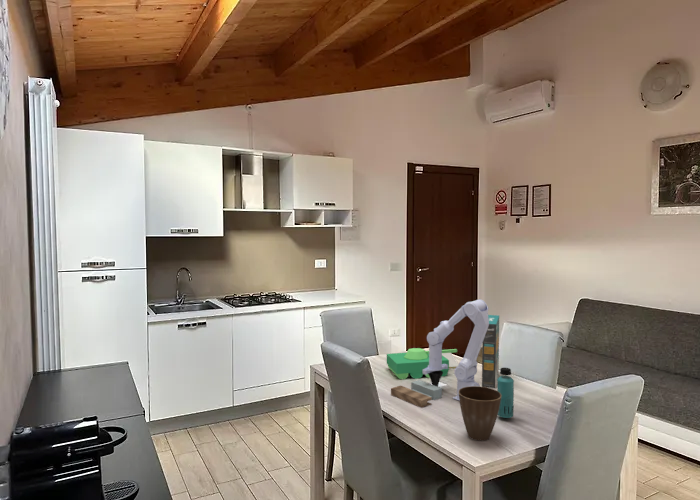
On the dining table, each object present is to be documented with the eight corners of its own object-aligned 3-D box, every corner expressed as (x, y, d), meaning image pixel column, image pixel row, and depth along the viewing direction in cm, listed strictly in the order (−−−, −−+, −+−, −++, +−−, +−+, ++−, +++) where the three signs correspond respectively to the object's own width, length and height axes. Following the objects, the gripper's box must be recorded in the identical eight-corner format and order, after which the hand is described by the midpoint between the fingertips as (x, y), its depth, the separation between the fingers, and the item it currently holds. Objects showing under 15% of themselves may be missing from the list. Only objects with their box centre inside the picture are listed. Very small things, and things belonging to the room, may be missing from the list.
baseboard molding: (437, 369, 260) (460, 369, 260) (437, 364, 260) (460, 364, 259) (429, 353, 291) (449, 353, 291) (429, 348, 291) (449, 348, 290)
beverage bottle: (502, 422, 190) (503, 371, 189) (493, 416, 197) (493, 366, 195) (517, 420, 192) (518, 370, 191) (507, 414, 198) (508, 365, 197)
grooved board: (431, 404, 209) (431, 397, 209) (421, 407, 206) (421, 400, 206) (400, 391, 224) (400, 385, 224) (390, 394, 221) (390, 388, 221)
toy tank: (463, 351, 247) (396, 356, 240) (463, 375, 248) (396, 380, 241) (449, 343, 265) (386, 346, 257) (449, 365, 265) (386, 369, 258)
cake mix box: (486, 373, 251) (486, 314, 250) (498, 374, 249) (499, 315, 247) (481, 386, 231) (482, 323, 229) (495, 388, 229) (496, 324, 227)
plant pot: (480, 424, 189) (480, 383, 188) (509, 439, 176) (510, 395, 174) (449, 432, 182) (449, 390, 181) (478, 449, 168) (478, 403, 167)
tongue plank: (441, 398, 217) (441, 388, 217) (431, 401, 213) (431, 391, 213) (419, 389, 228) (419, 380, 228) (408, 392, 224) (408, 382, 224)
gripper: (439, 352, 232) (439, 381, 233) (417, 358, 223) (417, 387, 224) (451, 356, 226) (450, 385, 227) (429, 361, 217) (428, 392, 218)
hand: (435, 386), depth 225 cm, fingers closed
